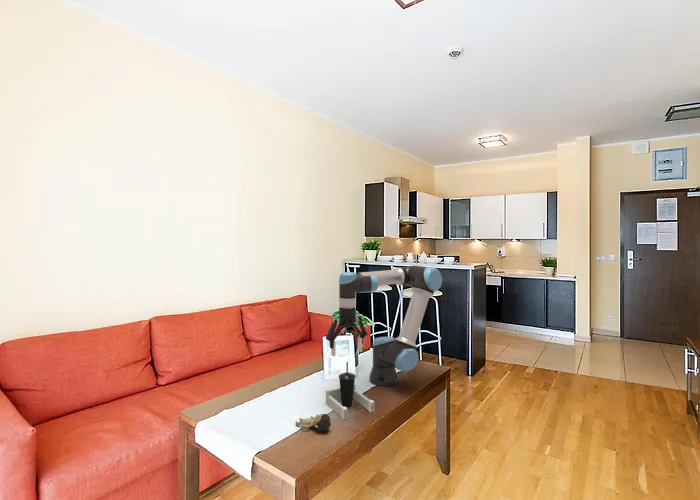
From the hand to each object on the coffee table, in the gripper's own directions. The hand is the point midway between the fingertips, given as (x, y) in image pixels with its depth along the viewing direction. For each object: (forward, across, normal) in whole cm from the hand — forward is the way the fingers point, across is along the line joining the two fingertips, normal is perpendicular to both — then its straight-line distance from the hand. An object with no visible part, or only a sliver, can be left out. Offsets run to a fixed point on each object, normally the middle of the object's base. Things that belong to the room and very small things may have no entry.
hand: (346, 353), depth 171 cm
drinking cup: (+24, 0, 0) cm, 24 cm away
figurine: (+25, +21, +11) cm, 34 cm away
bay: (+24, 0, +3) cm, 24 cm away
